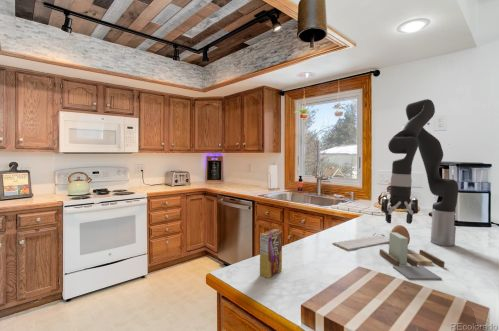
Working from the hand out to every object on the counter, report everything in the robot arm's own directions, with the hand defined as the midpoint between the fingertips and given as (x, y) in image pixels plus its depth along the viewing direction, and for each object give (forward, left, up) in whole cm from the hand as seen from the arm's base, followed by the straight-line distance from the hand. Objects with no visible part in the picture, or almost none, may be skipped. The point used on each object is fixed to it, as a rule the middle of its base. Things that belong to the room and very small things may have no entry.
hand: (398, 223), depth 111 cm
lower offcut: (-9, 0, -17) cm, 19 cm away
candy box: (+55, +12, -16) cm, 59 cm away
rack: (-6, 0, -16) cm, 17 cm away
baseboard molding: (+5, -23, -17) cm, 29 cm away
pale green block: (0, 0, -16) cm, 16 cm away
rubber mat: (0, +12, -16) cm, 20 cm away
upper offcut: (-9, 0, -16) cm, 18 cm away
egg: (-10, -15, -16) cm, 24 cm away
